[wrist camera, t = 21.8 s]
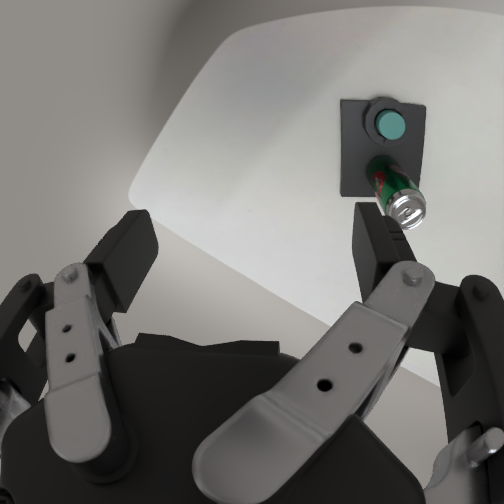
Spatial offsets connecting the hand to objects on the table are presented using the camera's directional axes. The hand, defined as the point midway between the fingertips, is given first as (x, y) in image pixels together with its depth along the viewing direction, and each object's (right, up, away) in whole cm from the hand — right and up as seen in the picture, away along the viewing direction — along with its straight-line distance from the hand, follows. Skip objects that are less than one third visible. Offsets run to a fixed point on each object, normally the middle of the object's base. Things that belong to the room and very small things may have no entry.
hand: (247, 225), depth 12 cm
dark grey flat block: (+18, +13, +28) cm, 36 cm away
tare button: (+18, +15, +23) cm, 33 cm away
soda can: (+18, +10, +28) cm, 36 cm away
